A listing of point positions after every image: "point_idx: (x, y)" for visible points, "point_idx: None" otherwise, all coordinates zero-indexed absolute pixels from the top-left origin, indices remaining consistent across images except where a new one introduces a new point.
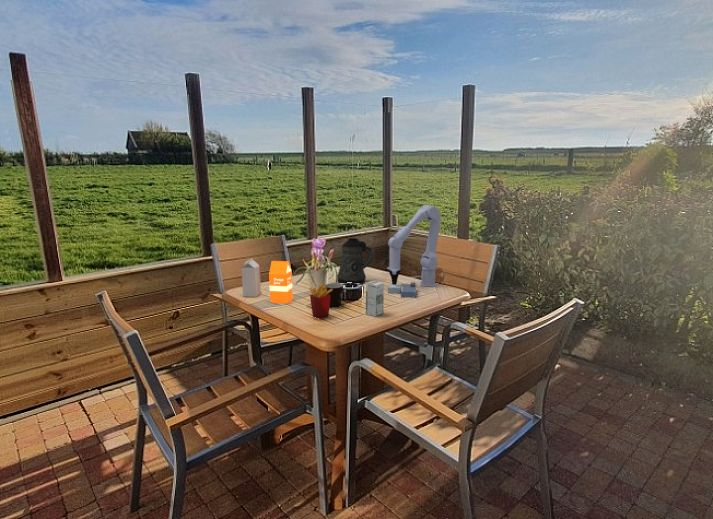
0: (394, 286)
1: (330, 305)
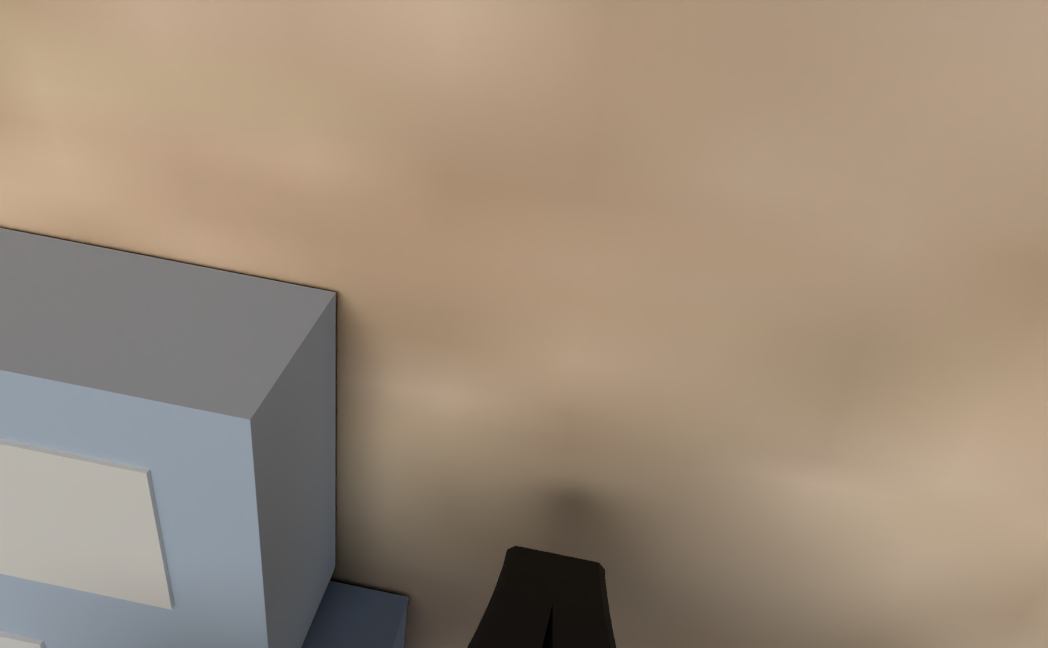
0: (22, 553)
1: None
